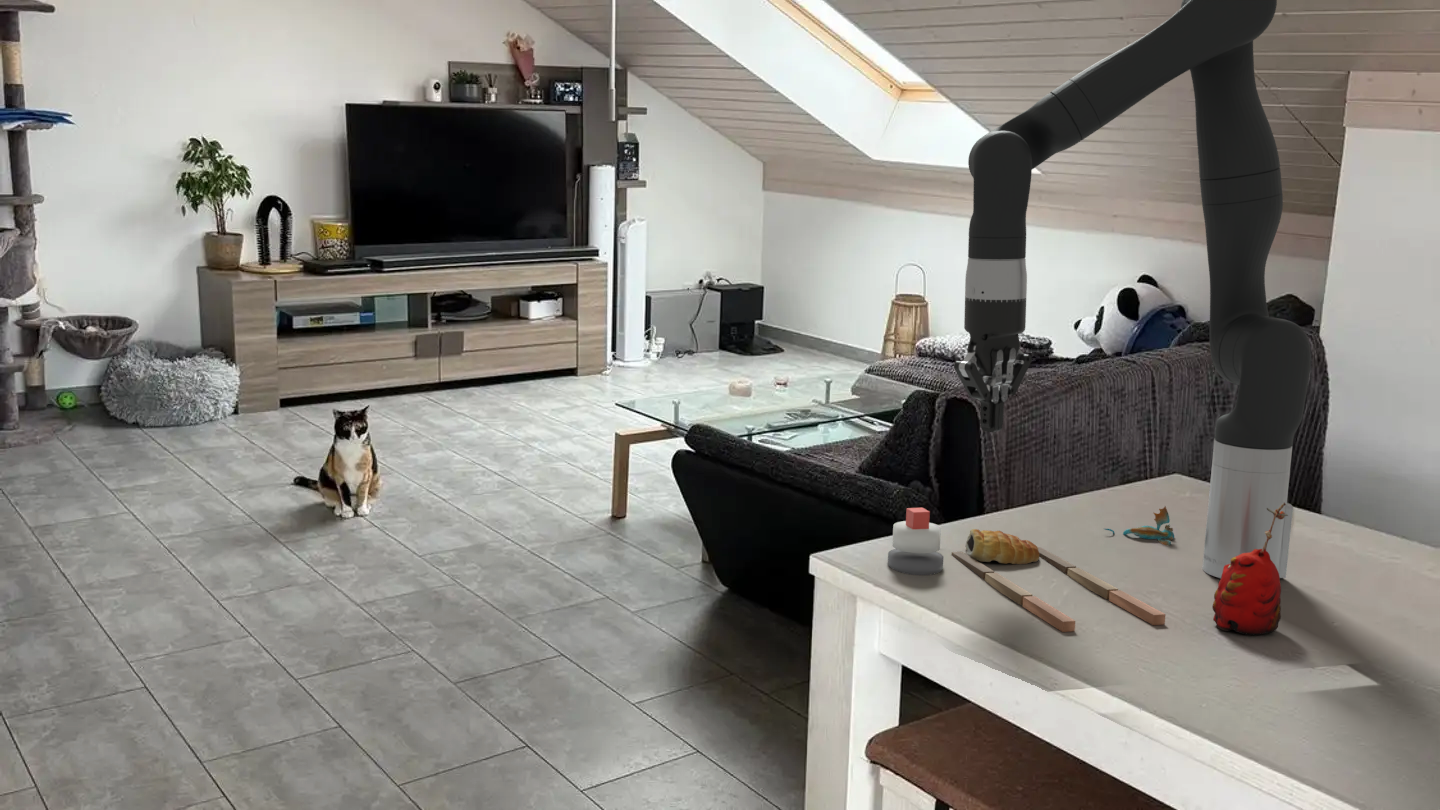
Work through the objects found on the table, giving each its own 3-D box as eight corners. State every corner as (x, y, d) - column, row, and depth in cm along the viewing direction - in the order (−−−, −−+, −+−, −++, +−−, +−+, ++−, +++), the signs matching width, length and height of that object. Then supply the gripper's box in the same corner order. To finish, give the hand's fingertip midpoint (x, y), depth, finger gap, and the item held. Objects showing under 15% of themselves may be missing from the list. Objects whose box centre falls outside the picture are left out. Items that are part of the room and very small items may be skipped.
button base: (928, 561, 170) (929, 546, 169) (952, 576, 163) (952, 561, 163) (878, 564, 168) (879, 549, 168) (900, 579, 161) (901, 564, 161)
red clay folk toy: (1222, 613, 152) (1233, 488, 149) (1286, 626, 148) (1299, 498, 145) (1204, 630, 146) (1216, 500, 143) (1271, 644, 142) (1284, 510, 139)
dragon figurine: (1123, 567, 184) (1180, 560, 180) (1103, 551, 179) (1161, 544, 174) (1122, 523, 187) (1178, 516, 182) (1102, 506, 182) (1159, 498, 177)
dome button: (927, 539, 169) (929, 503, 168) (948, 551, 163) (950, 514, 162) (885, 541, 167) (886, 505, 166) (903, 554, 161) (905, 516, 161)
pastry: (1031, 556, 173) (1033, 528, 173) (1044, 568, 167) (1047, 539, 166) (961, 552, 173) (963, 524, 172) (972, 564, 166) (975, 535, 166)
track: (1039, 555, 174) (1040, 547, 174) (1164, 624, 147) (1165, 614, 147) (951, 561, 170) (951, 552, 170) (1062, 632, 144) (1063, 621, 143)
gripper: (985, 300, 155) (981, 442, 158) (1052, 293, 163) (1048, 428, 166) (937, 296, 161) (934, 433, 164) (1005, 289, 169) (1001, 420, 172)
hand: (991, 430), depth 165 cm, fingers closed
